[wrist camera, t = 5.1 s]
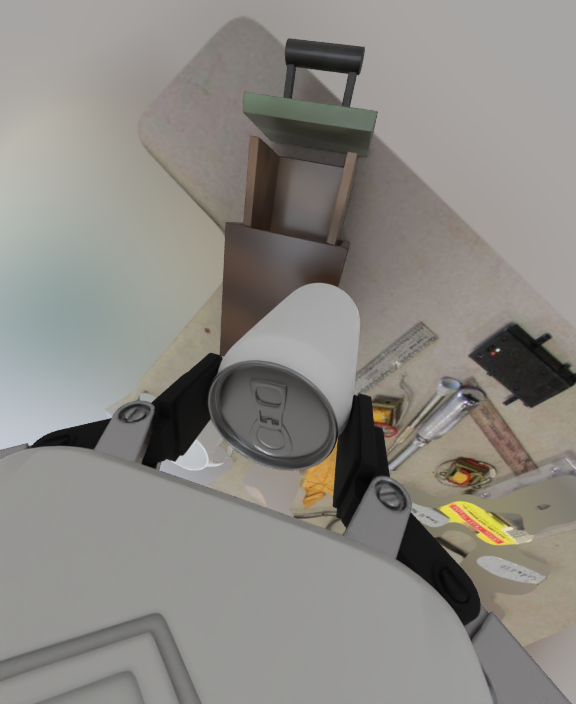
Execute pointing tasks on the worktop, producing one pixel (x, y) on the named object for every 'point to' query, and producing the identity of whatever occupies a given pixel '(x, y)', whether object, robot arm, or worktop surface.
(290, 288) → the cabinet
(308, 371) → the can
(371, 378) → the worktop surface
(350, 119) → the drawer
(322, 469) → the worktop surface
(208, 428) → the mug
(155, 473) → the robot arm
